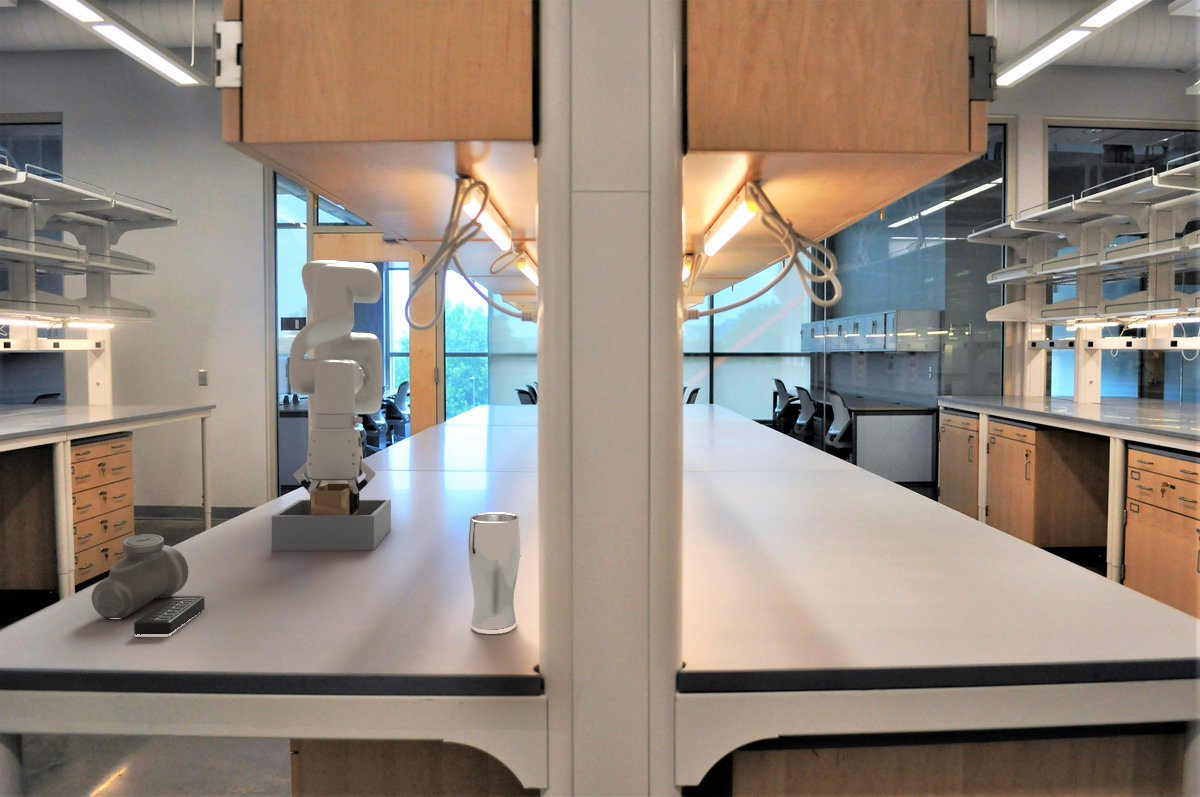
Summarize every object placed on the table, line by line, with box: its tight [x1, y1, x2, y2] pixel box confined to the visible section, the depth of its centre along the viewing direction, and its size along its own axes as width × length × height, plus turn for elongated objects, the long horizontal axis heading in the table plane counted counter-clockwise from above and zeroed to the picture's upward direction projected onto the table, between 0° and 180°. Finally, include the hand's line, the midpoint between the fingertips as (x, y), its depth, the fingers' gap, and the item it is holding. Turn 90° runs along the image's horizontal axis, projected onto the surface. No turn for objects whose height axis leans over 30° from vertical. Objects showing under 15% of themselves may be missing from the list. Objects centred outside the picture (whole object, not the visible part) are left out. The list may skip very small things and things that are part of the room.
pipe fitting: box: [90, 533, 189, 619], centre depth 105 cm, size 12×8×10 cm
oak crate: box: [311, 483, 358, 515], centre depth 146 cm, size 10×6×6 cm, turn 5°
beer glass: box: [467, 512, 521, 630], centre depth 100 cm, size 7×7×15 cm
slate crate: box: [271, 499, 392, 552], centre depth 147 cm, size 17×19×6 cm
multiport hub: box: [133, 595, 205, 635], centre depth 100 cm, size 4×11×2 cm, turn 6°
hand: (334, 512), depth 147 cm, fingers closed on oak crate, 6 cm apart
